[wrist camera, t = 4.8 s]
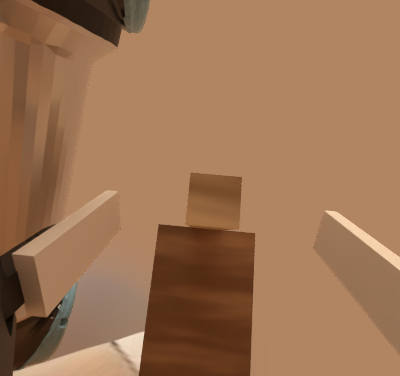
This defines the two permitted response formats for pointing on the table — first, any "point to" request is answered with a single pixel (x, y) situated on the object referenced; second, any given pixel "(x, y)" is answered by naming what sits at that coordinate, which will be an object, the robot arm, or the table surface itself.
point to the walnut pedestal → (199, 304)
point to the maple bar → (214, 202)
